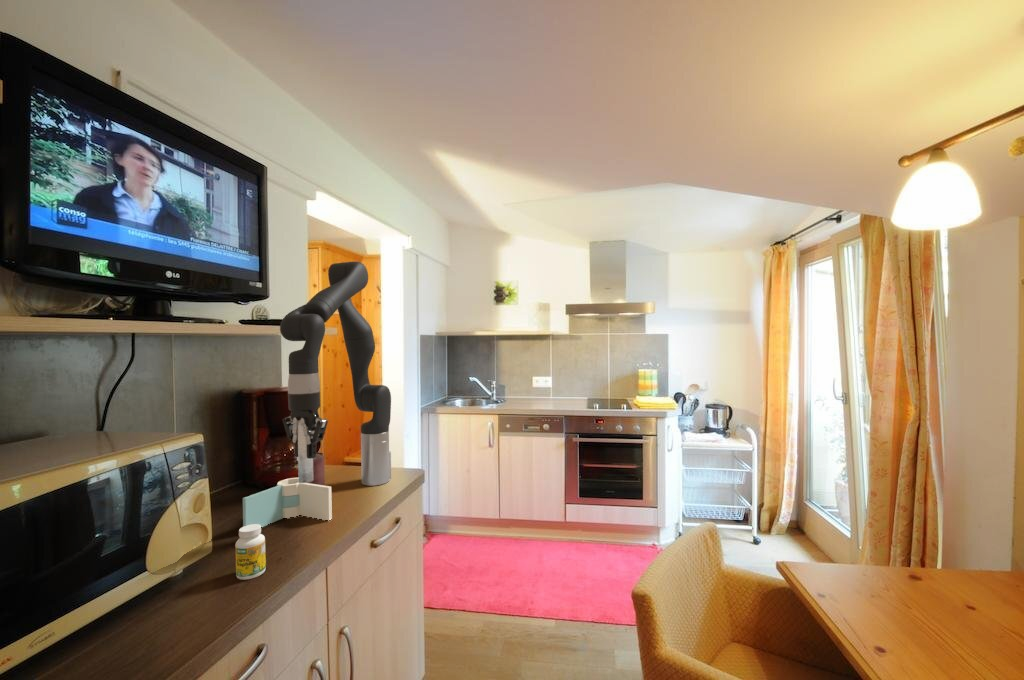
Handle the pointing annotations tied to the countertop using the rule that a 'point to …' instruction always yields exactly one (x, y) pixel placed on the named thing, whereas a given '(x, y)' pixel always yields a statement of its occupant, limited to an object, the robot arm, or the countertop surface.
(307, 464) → the hinge pin
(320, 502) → the white hinge leaf
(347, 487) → the countertop surface
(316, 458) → the can
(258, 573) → the supplement bottle
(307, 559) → the countertop surface
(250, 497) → the leaf
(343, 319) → the robot arm
